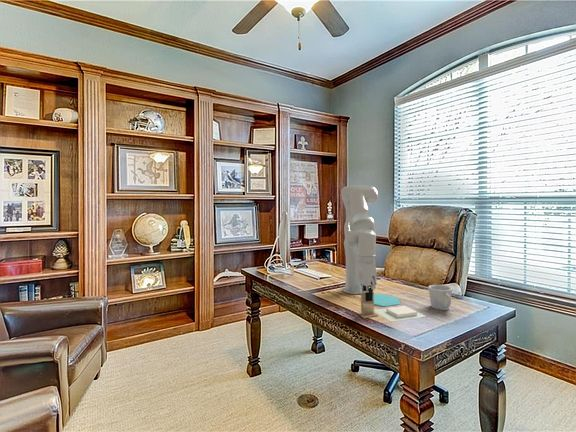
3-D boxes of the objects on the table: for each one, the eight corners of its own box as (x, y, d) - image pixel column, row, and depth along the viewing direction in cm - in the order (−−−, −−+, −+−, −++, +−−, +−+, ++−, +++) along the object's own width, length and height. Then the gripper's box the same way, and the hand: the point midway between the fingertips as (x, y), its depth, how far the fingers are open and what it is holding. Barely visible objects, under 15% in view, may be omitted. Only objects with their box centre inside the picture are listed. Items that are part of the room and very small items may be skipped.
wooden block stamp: (357, 314, 148) (357, 290, 148) (370, 313, 150) (370, 289, 150) (363, 319, 142) (363, 294, 142) (377, 317, 144) (377, 292, 144)
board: (372, 311, 152) (372, 310, 152) (404, 306, 157) (404, 305, 157) (390, 322, 138) (390, 321, 138) (426, 317, 143) (426, 316, 143)
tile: (386, 308, 150) (398, 314, 141) (404, 305, 153) (417, 311, 144) (386, 311, 150) (398, 318, 141) (404, 309, 153) (417, 315, 144)
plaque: (406, 303, 167) (370, 294, 179) (406, 299, 166) (370, 291, 179) (393, 312, 153) (355, 302, 166) (393, 308, 153) (355, 298, 166)
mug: (445, 304, 160) (445, 284, 160) (461, 315, 145) (462, 293, 145) (424, 304, 160) (424, 284, 159) (438, 315, 145) (438, 293, 145)
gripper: (350, 257, 152) (351, 296, 152) (368, 262, 136) (369, 306, 137) (365, 256, 154) (365, 294, 155) (384, 261, 138) (384, 304, 139)
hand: (367, 299), depth 146 cm, fingers closed on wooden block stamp, 2 cm apart
